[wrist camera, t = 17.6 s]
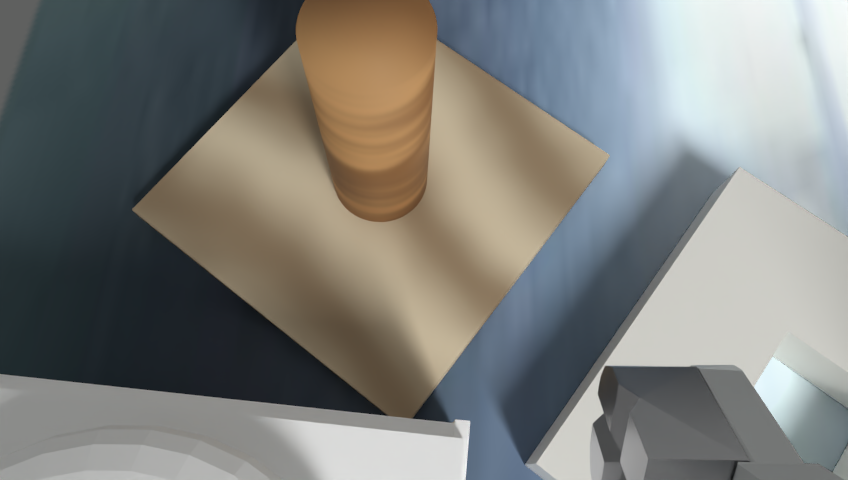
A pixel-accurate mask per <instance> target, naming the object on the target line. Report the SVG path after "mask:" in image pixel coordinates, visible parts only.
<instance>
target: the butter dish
mask: <svg viewBox="0 0 848 480" xmlns="http://www.w3.org/2000/svg"><path fill="white" fill-rule="evenodd" d="M469 430H470V421H465V420H454V422H453V423H448V422H439V421H429V420H420V419H411V418H402V417H392V416H383V415H374V414H365V413H355V412H346V411H337V410H328V409H318V408H309V407H300V406H291V405H281V404H272V403H263V402H254V401H244V400H235V399H226V398H217V397H207V396H198V395H189V394H180V393H170V392H161V391H152V390H143V389H133V388H124V387H115V386H105V385H96V384H87V383H78V382H68V381H59V380H50V379H41V378H31V377H22V376H13V375H4V374H0V480H465V479H466V467H467V455H468V442H469Z"/></svg>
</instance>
